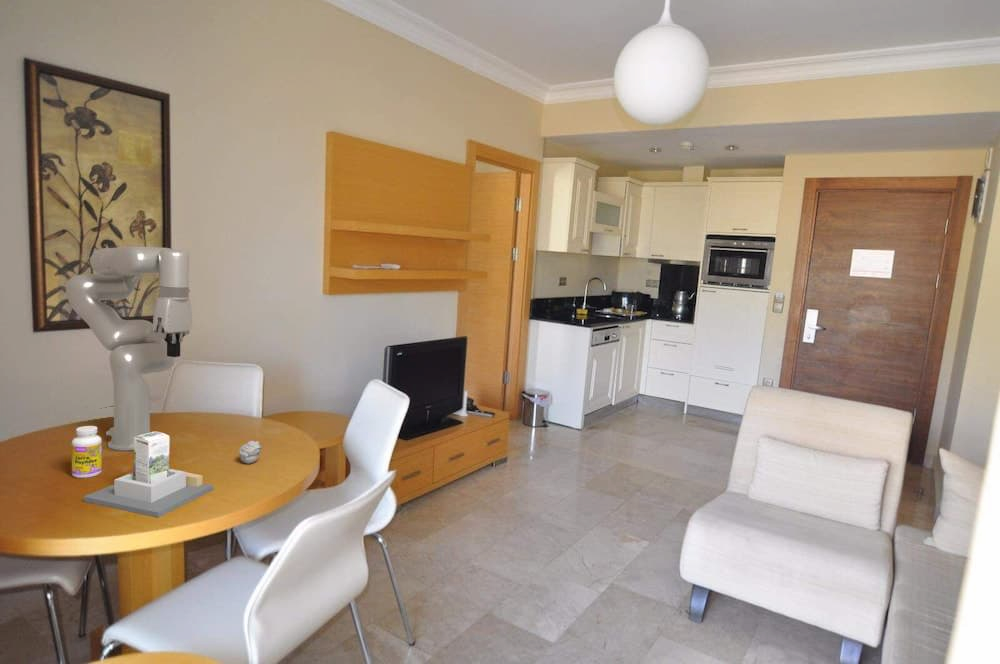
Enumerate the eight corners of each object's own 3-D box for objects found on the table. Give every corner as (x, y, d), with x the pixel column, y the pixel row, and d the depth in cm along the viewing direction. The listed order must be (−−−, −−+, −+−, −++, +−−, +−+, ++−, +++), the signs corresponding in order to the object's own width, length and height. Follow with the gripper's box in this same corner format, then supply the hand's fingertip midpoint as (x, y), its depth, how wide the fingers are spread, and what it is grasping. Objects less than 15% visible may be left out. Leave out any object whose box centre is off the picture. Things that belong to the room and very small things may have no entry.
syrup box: (154, 484, 153) (154, 430, 151) (169, 489, 151) (169, 434, 149) (132, 491, 148) (132, 435, 146) (148, 496, 146) (148, 440, 144)
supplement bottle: (69, 480, 154) (68, 432, 153) (74, 471, 160) (73, 425, 159) (100, 477, 158) (99, 431, 156) (103, 468, 163) (103, 423, 162)
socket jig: (83, 501, 143) (83, 480, 142) (144, 476, 160) (144, 457, 160) (158, 517, 138) (158, 496, 137) (213, 489, 155) (213, 470, 155)
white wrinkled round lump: (250, 468, 171) (250, 445, 170) (233, 463, 174) (233, 440, 173) (266, 462, 177) (267, 440, 176) (249, 457, 180) (250, 435, 179)
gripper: (183, 291, 175) (182, 351, 178) (141, 293, 161) (141, 358, 163) (204, 293, 174) (203, 354, 176) (163, 295, 159) (163, 361, 162)
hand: (173, 356), depth 170 cm, fingers closed
